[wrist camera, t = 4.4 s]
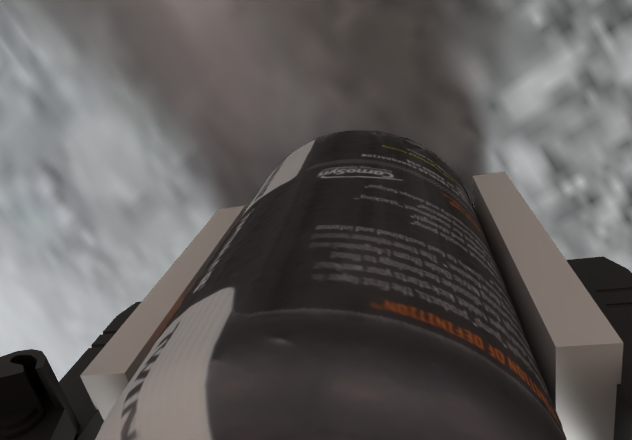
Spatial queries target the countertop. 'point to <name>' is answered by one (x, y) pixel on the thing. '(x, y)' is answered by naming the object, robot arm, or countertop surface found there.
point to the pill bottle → (345, 315)
